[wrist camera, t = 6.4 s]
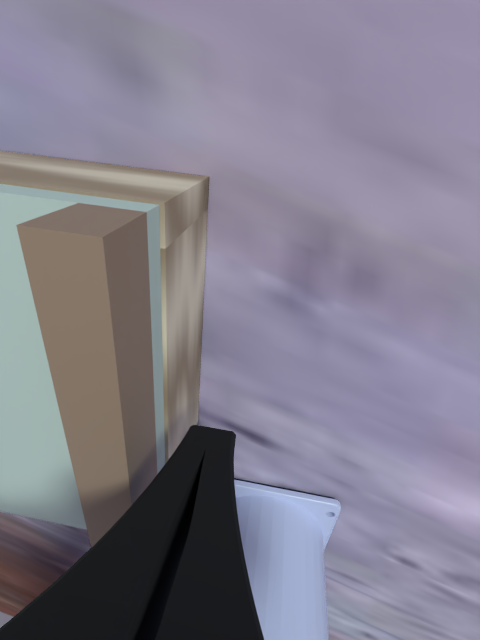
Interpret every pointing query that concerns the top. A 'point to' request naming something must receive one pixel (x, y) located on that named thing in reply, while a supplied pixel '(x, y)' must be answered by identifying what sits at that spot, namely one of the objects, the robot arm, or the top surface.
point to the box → (175, 257)
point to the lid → (79, 356)
